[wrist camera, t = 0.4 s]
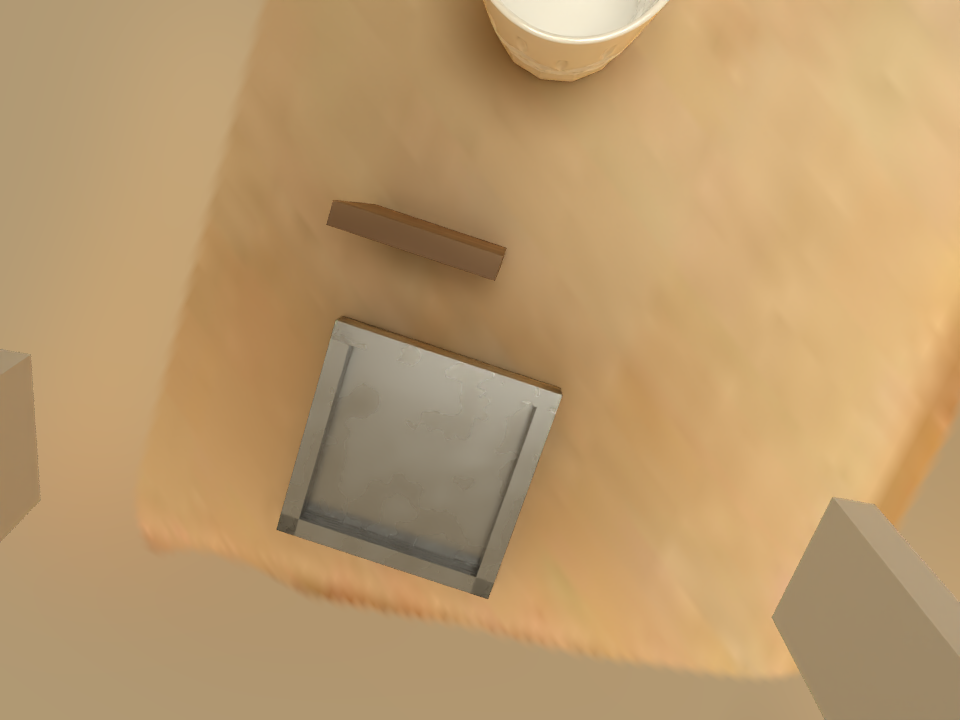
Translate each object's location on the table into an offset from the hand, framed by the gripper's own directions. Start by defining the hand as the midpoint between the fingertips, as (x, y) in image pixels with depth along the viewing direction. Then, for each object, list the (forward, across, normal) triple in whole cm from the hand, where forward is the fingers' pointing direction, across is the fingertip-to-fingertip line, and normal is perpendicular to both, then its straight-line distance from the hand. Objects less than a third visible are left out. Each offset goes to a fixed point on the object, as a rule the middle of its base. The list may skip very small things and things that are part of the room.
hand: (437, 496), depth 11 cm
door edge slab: (+25, -1, -2) cm, 25 cm away
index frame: (+22, 0, -14) cm, 26 cm away
